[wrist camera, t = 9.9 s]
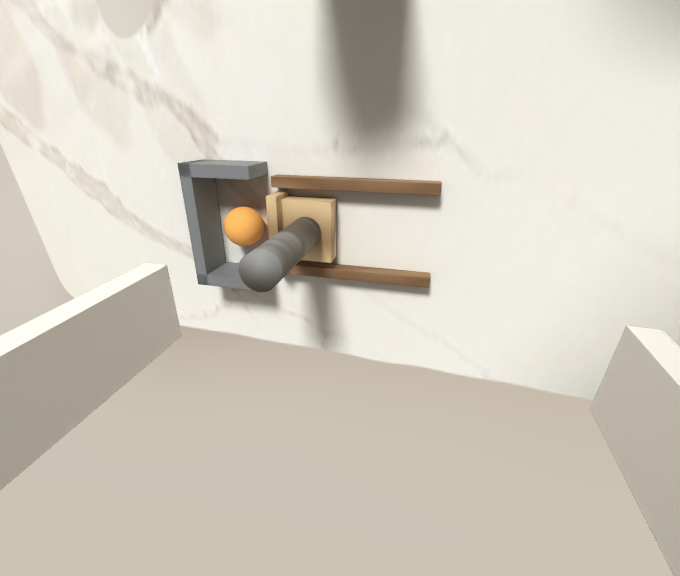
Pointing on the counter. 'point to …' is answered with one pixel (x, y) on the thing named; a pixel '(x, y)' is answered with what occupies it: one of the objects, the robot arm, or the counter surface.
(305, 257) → the carriage
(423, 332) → the counter surface
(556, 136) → the counter surface
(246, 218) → the ball
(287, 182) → the rails
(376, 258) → the counter surface
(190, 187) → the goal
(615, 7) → the counter surface
